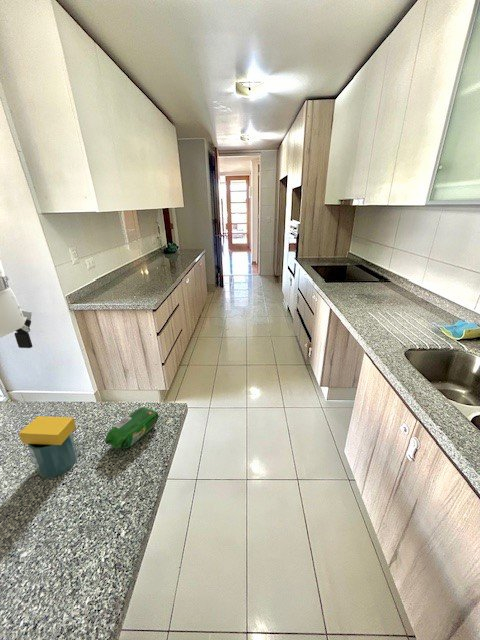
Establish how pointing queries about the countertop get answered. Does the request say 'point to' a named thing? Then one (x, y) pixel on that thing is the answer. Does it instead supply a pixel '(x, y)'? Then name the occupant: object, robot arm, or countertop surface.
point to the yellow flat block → (47, 430)
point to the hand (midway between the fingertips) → (9, 356)
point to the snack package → (131, 428)
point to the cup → (54, 457)
